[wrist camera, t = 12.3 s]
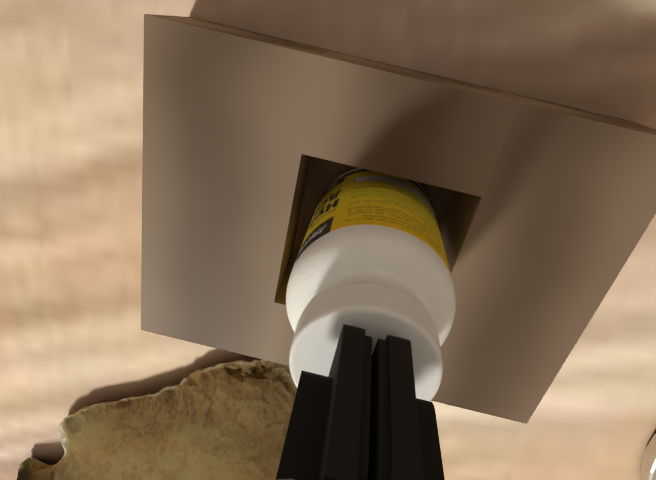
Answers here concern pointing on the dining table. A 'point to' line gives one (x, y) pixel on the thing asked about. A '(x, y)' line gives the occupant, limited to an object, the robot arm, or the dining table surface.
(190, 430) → the stone tool
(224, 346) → the socket block
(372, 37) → the dining table surface
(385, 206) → the supplement bottle
